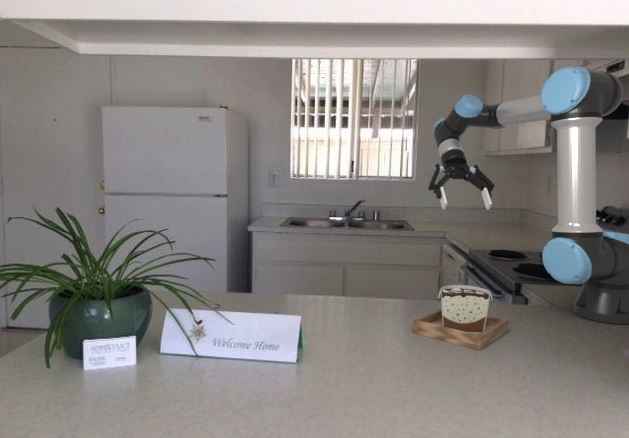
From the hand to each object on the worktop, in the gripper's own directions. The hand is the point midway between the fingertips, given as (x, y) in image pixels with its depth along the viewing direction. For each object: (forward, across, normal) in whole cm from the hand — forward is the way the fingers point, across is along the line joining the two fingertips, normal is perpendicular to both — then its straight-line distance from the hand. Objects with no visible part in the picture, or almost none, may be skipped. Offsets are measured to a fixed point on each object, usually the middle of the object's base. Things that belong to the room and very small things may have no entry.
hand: (467, 206), depth 149 cm
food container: (+42, +13, +4) cm, 44 cm away
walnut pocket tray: (+42, +12, +3) cm, 44 cm away
